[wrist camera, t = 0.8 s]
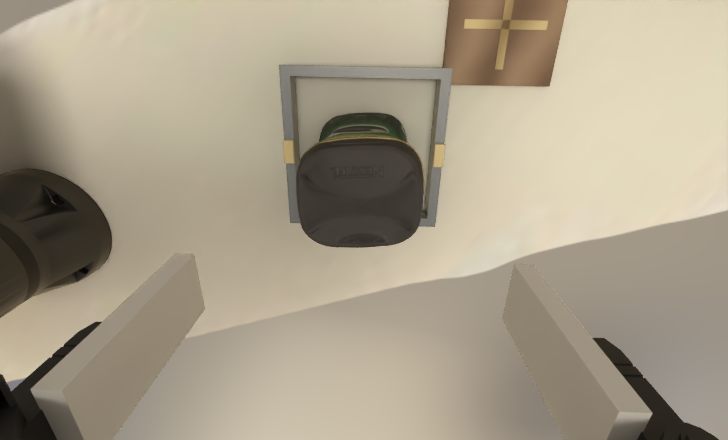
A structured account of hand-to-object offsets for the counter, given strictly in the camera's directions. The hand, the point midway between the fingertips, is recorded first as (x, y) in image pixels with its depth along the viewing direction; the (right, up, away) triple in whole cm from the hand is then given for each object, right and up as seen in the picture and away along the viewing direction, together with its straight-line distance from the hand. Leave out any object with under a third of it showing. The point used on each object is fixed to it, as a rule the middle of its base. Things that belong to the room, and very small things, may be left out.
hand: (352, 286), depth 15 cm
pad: (+14, +22, +20) cm, 33 cm away
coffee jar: (+1, +11, +25) cm, 28 cm away
